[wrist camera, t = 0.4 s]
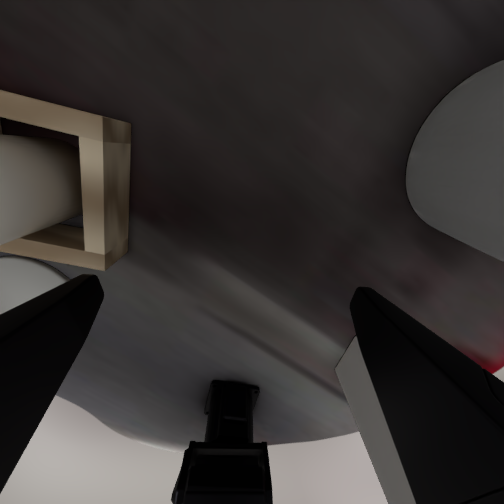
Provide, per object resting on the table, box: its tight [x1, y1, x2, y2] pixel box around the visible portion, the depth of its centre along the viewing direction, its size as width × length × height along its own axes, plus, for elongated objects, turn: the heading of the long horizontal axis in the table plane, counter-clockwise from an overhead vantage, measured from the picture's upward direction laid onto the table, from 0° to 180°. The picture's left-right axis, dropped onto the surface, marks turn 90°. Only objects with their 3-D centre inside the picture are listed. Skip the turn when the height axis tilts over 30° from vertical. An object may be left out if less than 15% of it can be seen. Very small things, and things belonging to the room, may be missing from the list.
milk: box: [335, 336, 416, 504], centre depth 19 cm, size 6×6×22 cm
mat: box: [0, 256, 70, 314], centre depth 24 cm, size 11×11×1 cm
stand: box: [0, 90, 131, 271], centre depth 18 cm, size 11×11×4 cm
